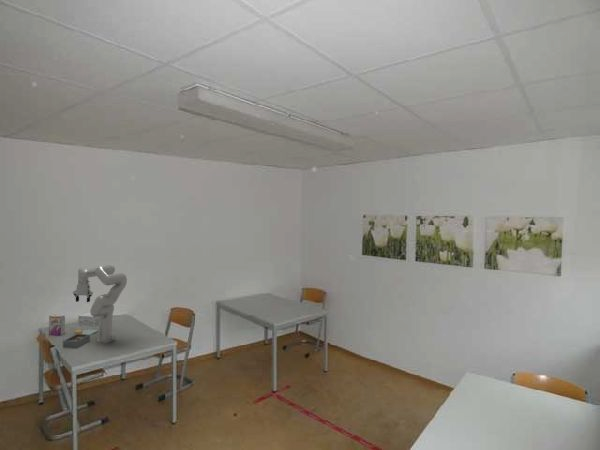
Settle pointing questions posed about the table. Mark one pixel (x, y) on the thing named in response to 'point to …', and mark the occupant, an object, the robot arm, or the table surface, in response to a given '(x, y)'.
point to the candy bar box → (56, 324)
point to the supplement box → (88, 319)
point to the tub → (76, 344)
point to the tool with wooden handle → (85, 332)
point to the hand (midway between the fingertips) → (82, 301)
